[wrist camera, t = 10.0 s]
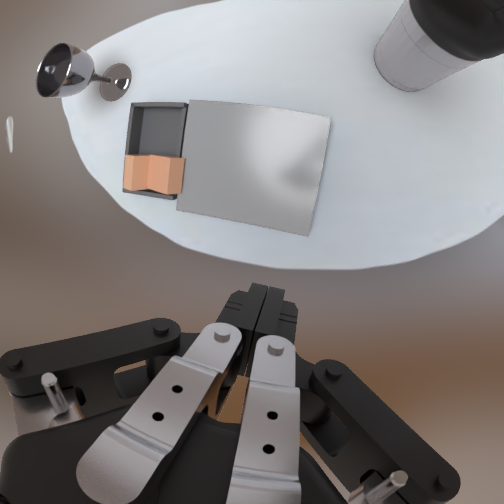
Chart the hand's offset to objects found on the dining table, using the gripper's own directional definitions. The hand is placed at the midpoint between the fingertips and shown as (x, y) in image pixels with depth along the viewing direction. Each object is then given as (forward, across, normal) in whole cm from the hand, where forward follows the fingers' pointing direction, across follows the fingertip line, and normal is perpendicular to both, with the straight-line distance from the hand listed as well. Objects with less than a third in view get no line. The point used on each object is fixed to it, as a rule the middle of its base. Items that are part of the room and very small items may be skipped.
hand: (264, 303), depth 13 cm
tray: (+29, +22, -4) cm, 36 cm away
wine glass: (+29, +33, -16) cm, 47 cm away
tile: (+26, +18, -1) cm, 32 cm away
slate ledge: (+29, +7, -4) cm, 30 cm away
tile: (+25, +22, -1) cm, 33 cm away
